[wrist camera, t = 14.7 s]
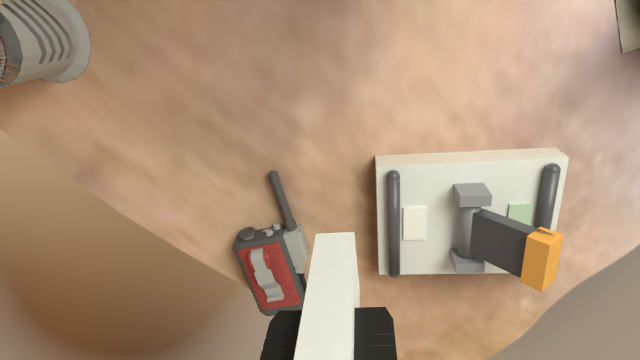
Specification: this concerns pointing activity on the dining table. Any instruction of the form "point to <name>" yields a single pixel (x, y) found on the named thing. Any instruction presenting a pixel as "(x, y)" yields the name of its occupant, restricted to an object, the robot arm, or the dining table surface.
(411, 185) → the panel
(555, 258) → the lever
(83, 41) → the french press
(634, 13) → the condiment
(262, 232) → the walkie-talkie
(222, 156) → the dining table surface
